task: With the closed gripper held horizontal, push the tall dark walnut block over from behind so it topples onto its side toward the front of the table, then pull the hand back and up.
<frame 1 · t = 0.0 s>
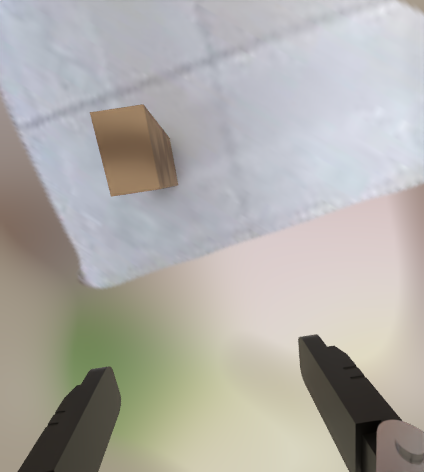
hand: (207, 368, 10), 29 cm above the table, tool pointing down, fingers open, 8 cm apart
walnut block: (159, 164, 36), on the table
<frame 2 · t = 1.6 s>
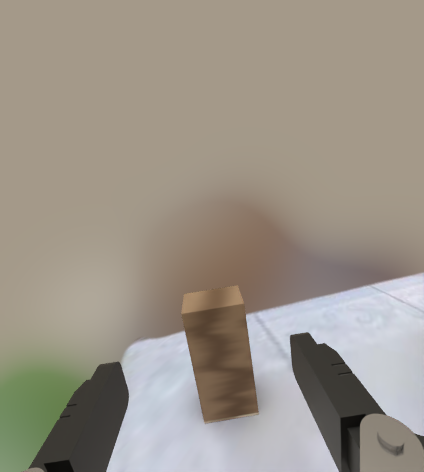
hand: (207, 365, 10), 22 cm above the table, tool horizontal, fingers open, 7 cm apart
walnut block: (229, 402, 32), on the table
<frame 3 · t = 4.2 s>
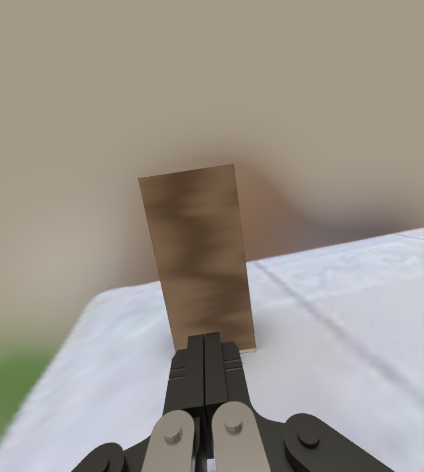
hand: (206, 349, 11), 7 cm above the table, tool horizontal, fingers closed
walnut block: (215, 339, 23), on the table
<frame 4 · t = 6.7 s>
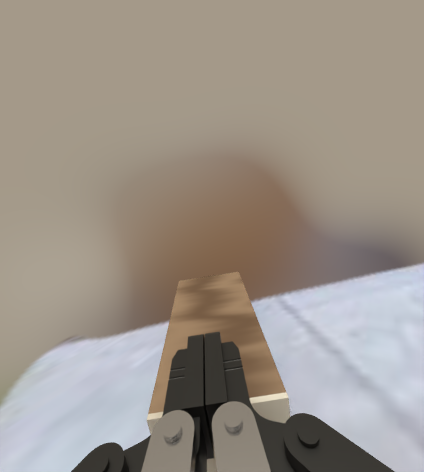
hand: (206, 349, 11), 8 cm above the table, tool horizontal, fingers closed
walnut block: (223, 443, 12), point 2 cm above the table, tilted 90°
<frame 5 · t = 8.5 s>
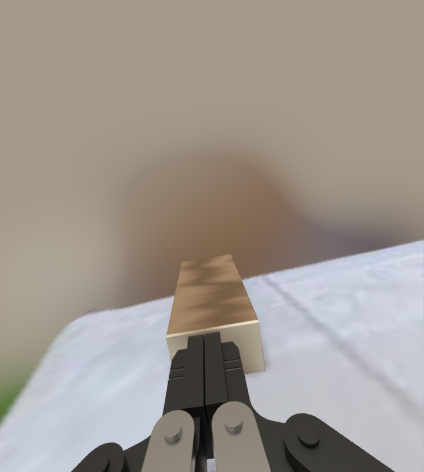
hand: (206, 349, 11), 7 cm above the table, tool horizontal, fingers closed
walnut block: (217, 355, 18), point 2 cm above the table, tilted 90°
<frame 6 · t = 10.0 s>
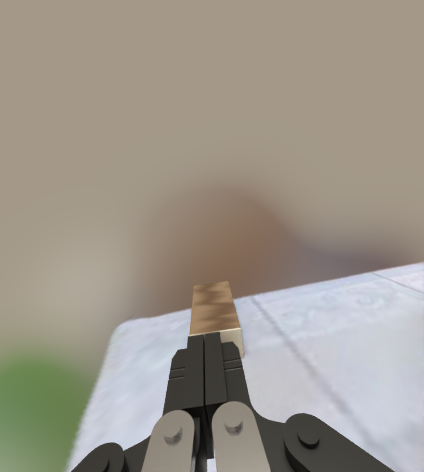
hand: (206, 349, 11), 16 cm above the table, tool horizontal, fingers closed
walnut block: (217, 346, 32), point 2 cm above the table, tilted 90°
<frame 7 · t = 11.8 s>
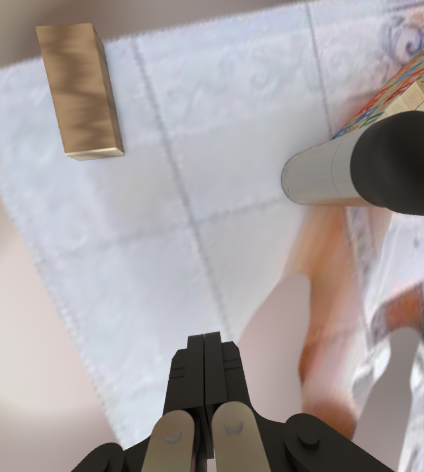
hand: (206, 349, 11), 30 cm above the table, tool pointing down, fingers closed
walnut block: (97, 155, 35), point 2 cm above the table, tilted 90°
stack of blocks: (379, 113, 42), on the table
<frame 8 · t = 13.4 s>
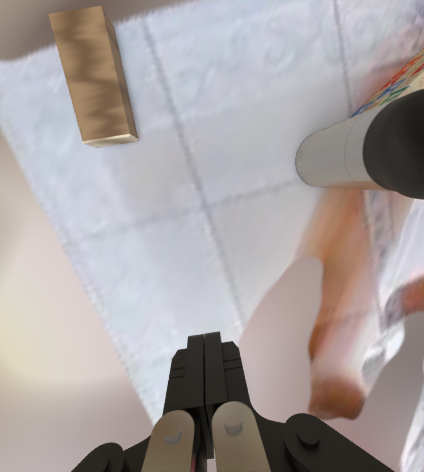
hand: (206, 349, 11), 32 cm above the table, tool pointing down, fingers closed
walnut block: (112, 142, 36), point 2 cm above the table, tilted 90°
stack of blocks: (407, 87, 38), on the table
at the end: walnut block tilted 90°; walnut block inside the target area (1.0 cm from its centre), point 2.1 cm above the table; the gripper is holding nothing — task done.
